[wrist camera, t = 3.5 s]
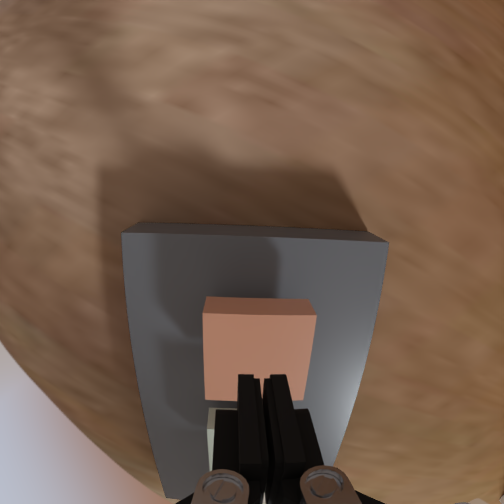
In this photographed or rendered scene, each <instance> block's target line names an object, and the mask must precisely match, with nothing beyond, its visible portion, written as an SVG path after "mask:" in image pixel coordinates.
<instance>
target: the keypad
mask: <svg viewBox="0 0 504 504" xmlns="http://www.w3.org/2000/svg"><path fill="white" fill-rule="evenodd" d="M121 239H122V258H123V272H124V285H125V295H126V305H127V314H128V323H129V331H130V338H131V345H132V352H133V359H134V365H135V371H136V377H137V382H138V388H139V393H140V398H141V403H142V408H143V413H144V417H145V422H146V426H147V430H148V435H149V439H150V443H151V447H152V451H153V455H154V458H155V462H156V466H157V469H158V473H159V476H160V480H161V483H162V486H163V490H164V493H165V496H166V498H171V499H179V500H182V499H184V498H186V497H187V496H189V495H191V494H192V493H194V492H195V488H196V485H197V483H198V481H199V479H200V478H201V477H202V476H203V475H204V474H206V473H208V472H210V467H209V454H208V439H207V423H208V413H209V408H235V409H237V401H222V400H205V383H204V355H203V309H204V305H205V301H206V296H209V297H236V298H275V299H309V301H310V303H311V305H312V307H313V309H314V311H315V313H316V315H317V318H316V325H315V332H314V338H313V345H312V351H311V358H310V364H309V370H308V376H307V381H306V387H305V393H304V398H303V400H297V401H292V402H293V406H294V409H305V408H308V410H309V412H310V415H311V419H312V422H313V426H314V429H315V433H316V436H317V440H318V444H319V447H320V451H321V454H322V458H323V462H324V465H326V466H332V467H333V464H334V462H335V459H336V456H337V453H338V451H339V448H340V445H341V442H342V439H343V437H344V434H345V431H346V428H347V425H348V422H349V418H350V415H351V412H352V409H353V406H354V402H355V399H356V396H357V392H358V389H359V385H360V382H361V378H362V374H363V371H364V367H365V363H366V359H367V355H368V351H369V347H370V343H371V338H372V334H373V330H374V325H375V320H376V316H377V311H378V306H379V301H380V295H381V290H382V284H383V279H384V273H385V266H386V260H387V253H388V246H389V242H387V241H385V240H383V239H381V238H380V237H378V236H376V235H374V234H372V233H370V232H367V231H350V230H333V229H314V228H293V227H270V226H245V225H216V224H181V223H137V224H135V225H133V226H132V227H130V228H128V229H126V230H125V231H123V232H121Z"/></svg>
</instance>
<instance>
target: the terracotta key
mask: <svg viewBox="0 0 504 504" xmlns="http://www.w3.org/2000/svg"><path fill="white" fill-rule="evenodd" d="M316 318H317V315H316V313H315V311H314V309H313V307H312V305H311V303H310V301H309V299H275V298H236V297H209V296H206V301H205V305H204V309H203V355H204V383H205V400H222V401H237V391H238V374H254V378H260V385H261V394H262V395H263V384H264V378H270V374H286V376H287V380H288V384H289V388H290V393H291V397H292V401H297V400H303V398H304V393H305V387H306V381H307V376H308V370H309V364H310V358H311V351H312V345H313V338H314V332H315V325H316Z"/></svg>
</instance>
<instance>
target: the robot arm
mask: <svg viewBox="0 0 504 504" xmlns="http://www.w3.org/2000/svg"><path fill="white" fill-rule="evenodd" d="M264 492H265V502H266V504H385V503H382V502H380V501H378V500H375V499H373V498H371V497H369V496H366V495H364V494H362V493H360V492H358V491H355V490H354V488H353V486H352V484H351V483H350V481H349V479H348V477H347V476H346V475H345V473H344V472H342V471H341V470H340V469H338V468H335V467H332V466H326V465H324V462H323V458H322V454H321V451H320V447H319V444H318V440H317V436H316V433H315V429H314V426H313V422H312V419H311V415H310V412H309V410H308V408H305V409H294V406H293V402H292V397H291V393H290V388H289V384H288V380H287V376H286V374H270V378H264V384H263V395H262V394H261V385H260V378H254V374H238V391H237V410H225V409H216V412H215V427H214V443H213V461H212V471H210V472H208V473H206V474H204V475H203V476H202V477H201V478H200V479H199V481H198V483H197V485H196V488H195V492H194V493H192V494H191V495H189V496H187V497H186V498H184V499H182V500H181V501H179V502H177V503H176V504H263V498H264ZM455 504H469V503H466V502H463V503H455Z"/></svg>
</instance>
